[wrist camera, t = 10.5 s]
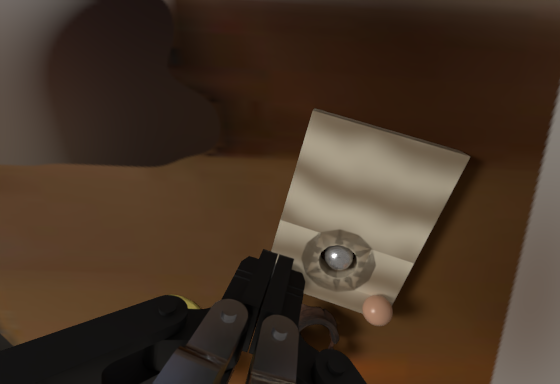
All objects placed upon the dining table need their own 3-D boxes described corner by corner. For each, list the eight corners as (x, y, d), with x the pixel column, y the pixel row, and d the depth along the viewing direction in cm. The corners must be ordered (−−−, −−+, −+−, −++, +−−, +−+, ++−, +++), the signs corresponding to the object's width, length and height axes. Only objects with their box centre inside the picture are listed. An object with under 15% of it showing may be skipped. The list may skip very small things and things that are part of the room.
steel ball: (331, 232, 37) (329, 250, 34) (357, 241, 37) (357, 260, 34) (322, 251, 39) (319, 270, 36) (347, 260, 39) (346, 279, 36)
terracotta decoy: (367, 285, 36) (369, 304, 33) (394, 294, 36) (400, 314, 33) (357, 306, 38) (358, 326, 34) (383, 315, 37) (388, 336, 34)
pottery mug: (263, 286, 43) (280, 316, 35) (323, 283, 46) (351, 310, 38) (256, 363, 44) (272, 409, 37) (315, 356, 47) (341, 396, 39)
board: (314, 108, 33) (312, 110, 30) (461, 151, 31) (470, 156, 29) (267, 268, 41) (262, 279, 39) (381, 306, 40) (383, 320, 38)
